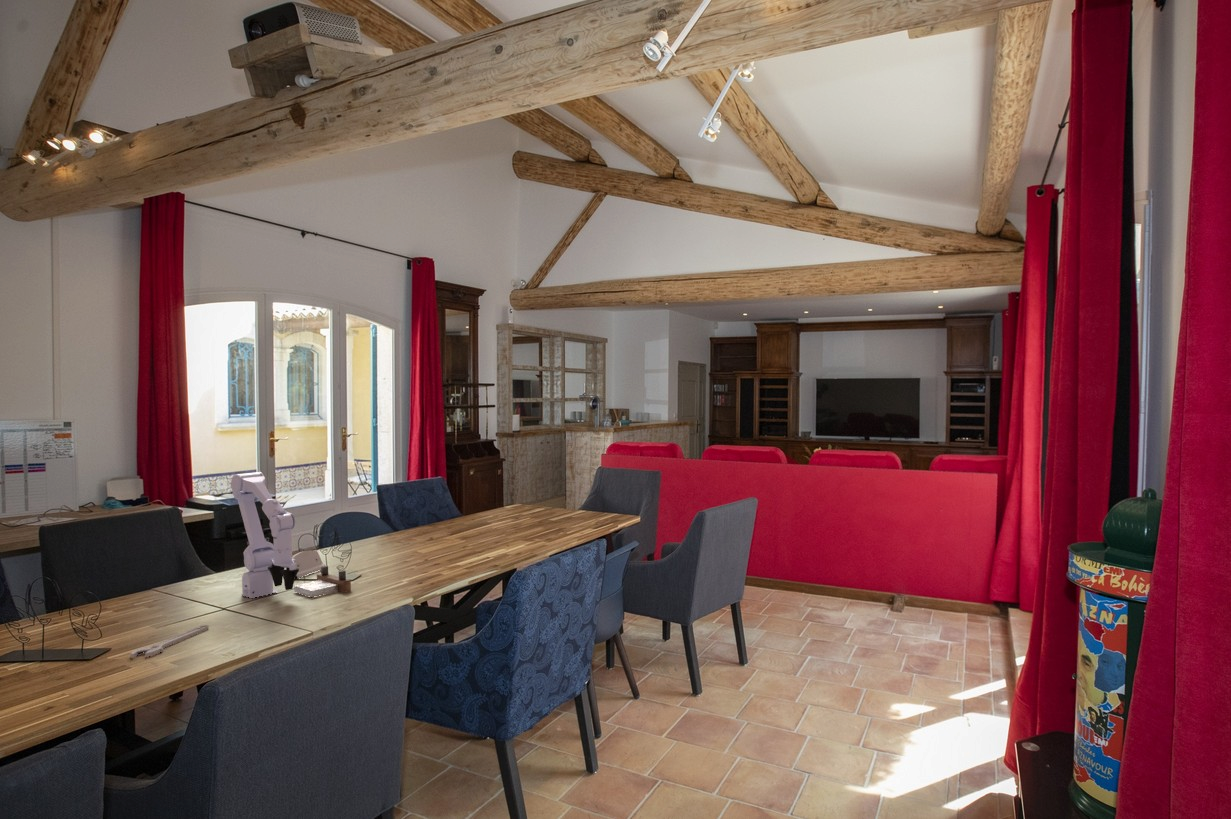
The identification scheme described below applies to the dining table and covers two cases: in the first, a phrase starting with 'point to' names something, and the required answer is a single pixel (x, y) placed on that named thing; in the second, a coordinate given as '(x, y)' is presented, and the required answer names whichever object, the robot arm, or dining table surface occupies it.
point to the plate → (316, 588)
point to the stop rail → (335, 579)
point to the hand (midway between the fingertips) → (283, 587)
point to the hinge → (307, 562)
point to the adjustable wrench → (166, 643)
